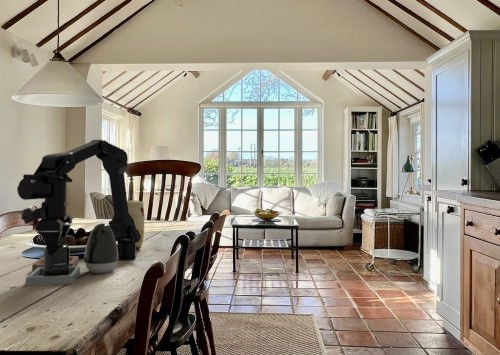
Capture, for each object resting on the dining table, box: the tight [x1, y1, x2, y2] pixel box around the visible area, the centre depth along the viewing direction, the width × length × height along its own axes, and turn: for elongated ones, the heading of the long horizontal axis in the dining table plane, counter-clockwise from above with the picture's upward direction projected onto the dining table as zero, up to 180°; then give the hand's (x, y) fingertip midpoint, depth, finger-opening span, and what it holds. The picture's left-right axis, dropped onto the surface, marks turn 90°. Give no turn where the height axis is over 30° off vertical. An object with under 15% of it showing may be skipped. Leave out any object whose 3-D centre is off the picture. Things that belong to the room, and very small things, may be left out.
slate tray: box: [25, 265, 81, 287], centre depth 119 cm, size 12×12×2 cm
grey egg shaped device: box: [83, 222, 120, 275], centre depth 129 cm, size 10×10×15 cm
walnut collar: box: [31, 255, 80, 273], centre depth 133 cm, size 11×11×2 cm
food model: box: [127, 199, 145, 251], centre depth 166 cm, size 10×7×20 cm
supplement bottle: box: [43, 235, 71, 276], centre depth 119 cm, size 7×7×12 cm
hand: (54, 251), depth 119 cm, fingers open, 9 cm apart
